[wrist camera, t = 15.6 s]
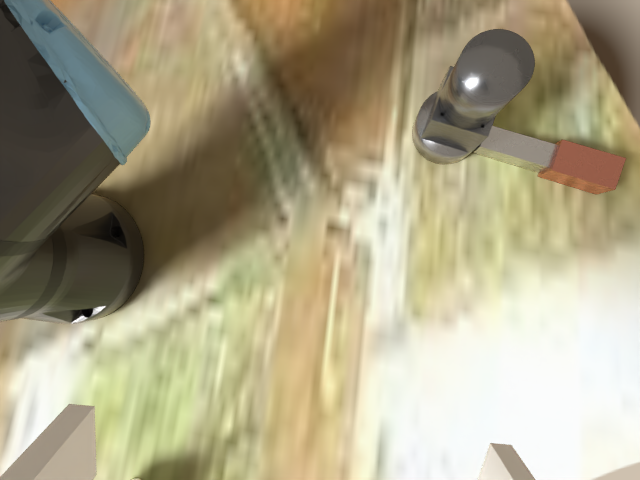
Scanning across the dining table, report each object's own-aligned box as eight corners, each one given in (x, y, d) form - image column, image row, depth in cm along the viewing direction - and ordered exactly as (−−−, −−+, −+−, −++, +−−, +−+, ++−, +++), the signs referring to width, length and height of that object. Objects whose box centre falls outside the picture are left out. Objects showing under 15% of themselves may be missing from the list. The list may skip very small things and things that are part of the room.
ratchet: (403, 153, 36) (414, 130, 30) (424, 93, 36) (439, 58, 30) (590, 211, 34) (645, 201, 27) (612, 148, 34) (672, 122, 27)
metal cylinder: (420, 138, 33) (449, 87, 23) (437, 91, 33) (472, 21, 23) (469, 153, 32) (520, 107, 23) (486, 105, 33) (544, 39, 23)
